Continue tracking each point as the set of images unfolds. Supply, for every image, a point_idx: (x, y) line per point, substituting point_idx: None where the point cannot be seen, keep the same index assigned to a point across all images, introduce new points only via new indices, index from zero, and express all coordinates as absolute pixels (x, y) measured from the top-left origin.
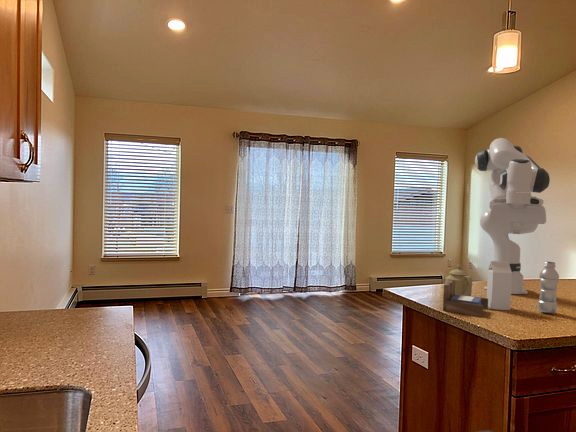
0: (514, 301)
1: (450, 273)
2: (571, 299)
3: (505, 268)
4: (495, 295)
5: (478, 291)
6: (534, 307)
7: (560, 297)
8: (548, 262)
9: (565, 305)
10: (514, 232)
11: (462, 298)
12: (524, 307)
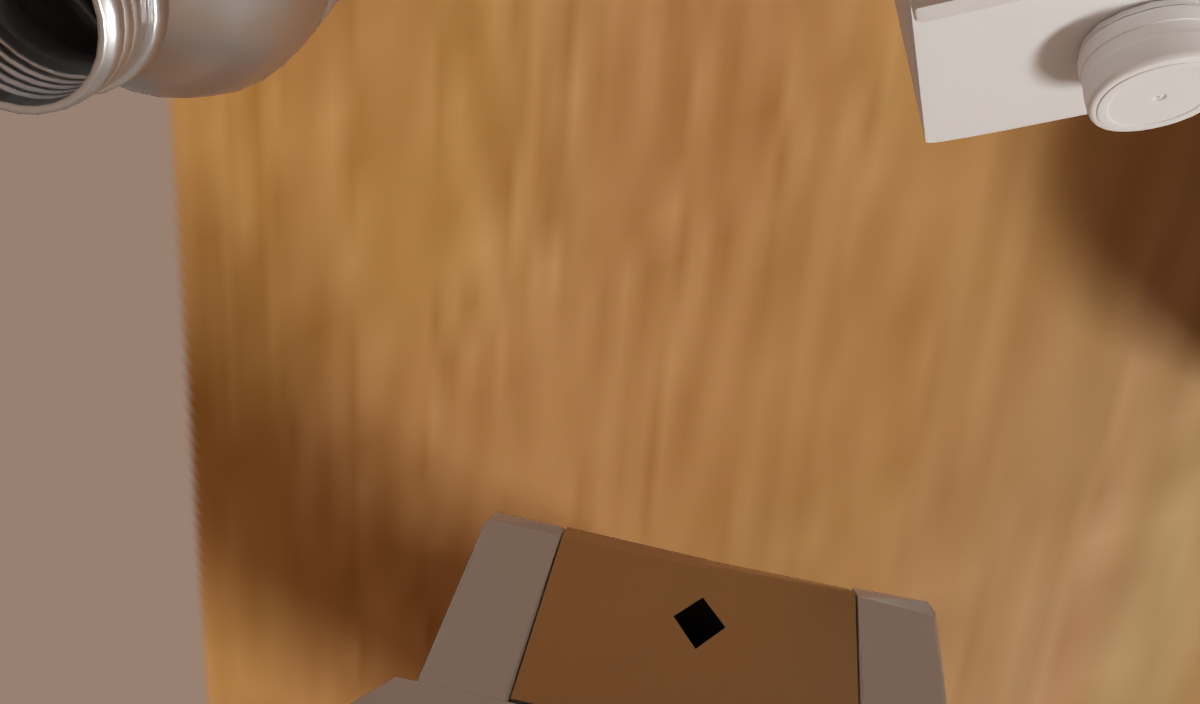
0: (723, 330)
1: None
2: (202, 627)
3: None
4: None
5: (1062, 673)
6: (528, 107)
7: (288, 671)
8: (46, 101)
9: (236, 360)
10: (809, 617)
11: None
12: (640, 46)
